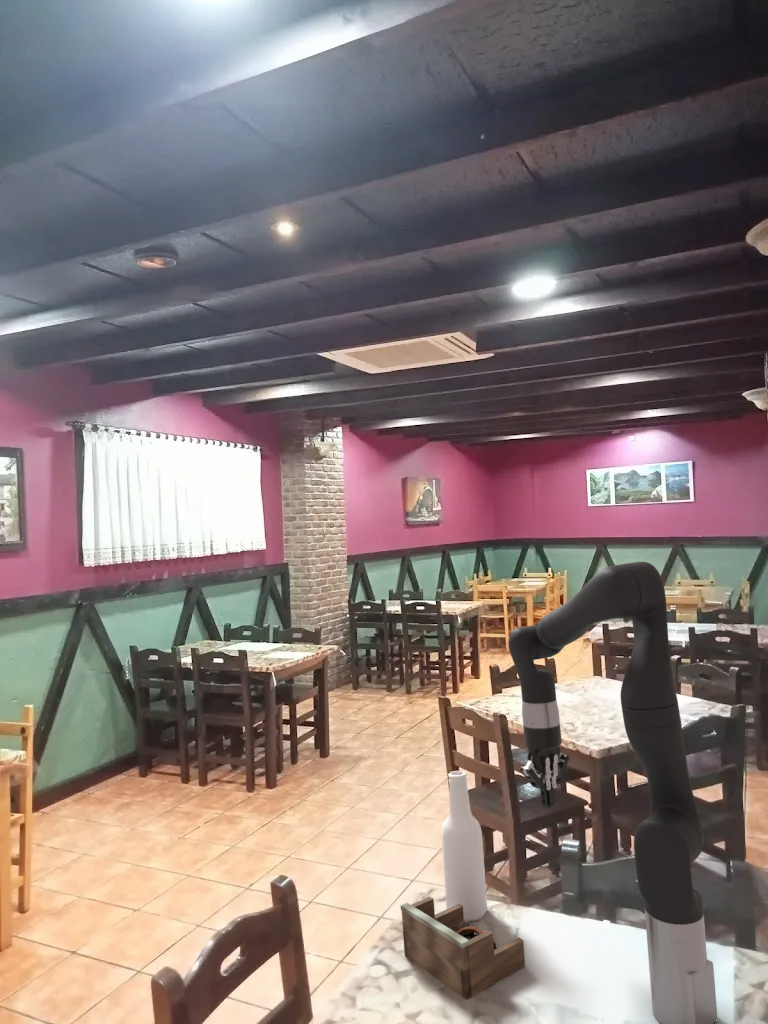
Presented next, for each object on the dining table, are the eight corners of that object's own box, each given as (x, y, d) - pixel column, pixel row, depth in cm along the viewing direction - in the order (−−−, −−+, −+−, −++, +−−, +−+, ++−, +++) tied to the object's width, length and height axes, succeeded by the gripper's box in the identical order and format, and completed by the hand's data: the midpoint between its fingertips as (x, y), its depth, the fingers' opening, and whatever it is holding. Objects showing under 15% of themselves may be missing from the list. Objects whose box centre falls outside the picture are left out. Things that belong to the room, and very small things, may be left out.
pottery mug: (514, 974, 138) (497, 946, 135) (472, 1005, 136) (454, 977, 133) (486, 927, 149) (470, 900, 146) (447, 956, 147) (430, 928, 145)
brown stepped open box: (525, 966, 139) (521, 913, 139) (466, 999, 130) (462, 943, 131) (460, 928, 154) (457, 880, 154) (403, 955, 145) (400, 905, 146)
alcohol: (473, 927, 154) (463, 782, 155) (438, 916, 160) (429, 776, 160) (495, 909, 161) (485, 770, 162) (461, 898, 166) (451, 764, 167)
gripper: (532, 731, 146) (541, 820, 145) (576, 717, 154) (584, 802, 153) (505, 726, 152) (513, 811, 151) (548, 713, 160) (556, 794, 159)
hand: (549, 806), depth 152 cm, fingers closed
